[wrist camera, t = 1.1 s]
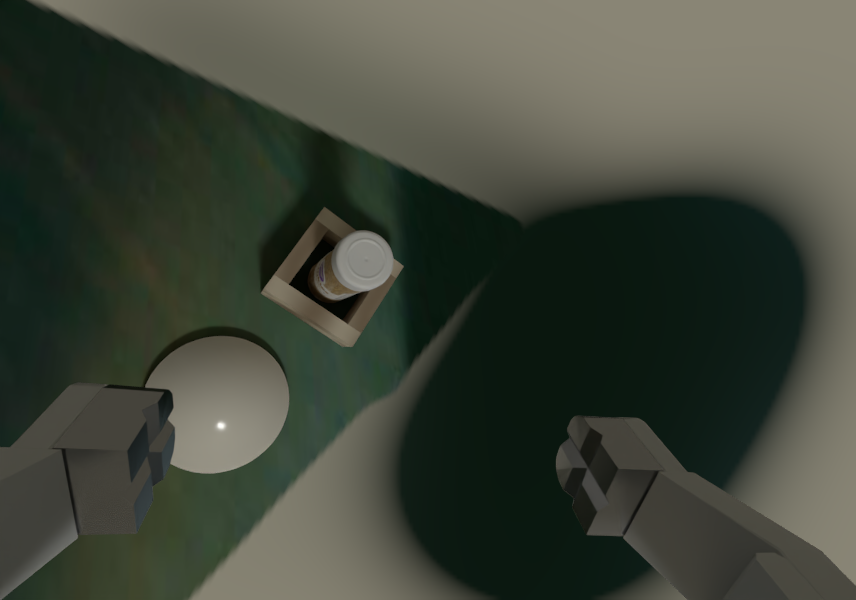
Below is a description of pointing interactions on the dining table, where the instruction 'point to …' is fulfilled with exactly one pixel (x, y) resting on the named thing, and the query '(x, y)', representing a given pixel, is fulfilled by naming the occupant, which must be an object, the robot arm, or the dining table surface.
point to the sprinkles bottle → (351, 267)
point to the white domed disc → (222, 402)
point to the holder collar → (308, 310)
